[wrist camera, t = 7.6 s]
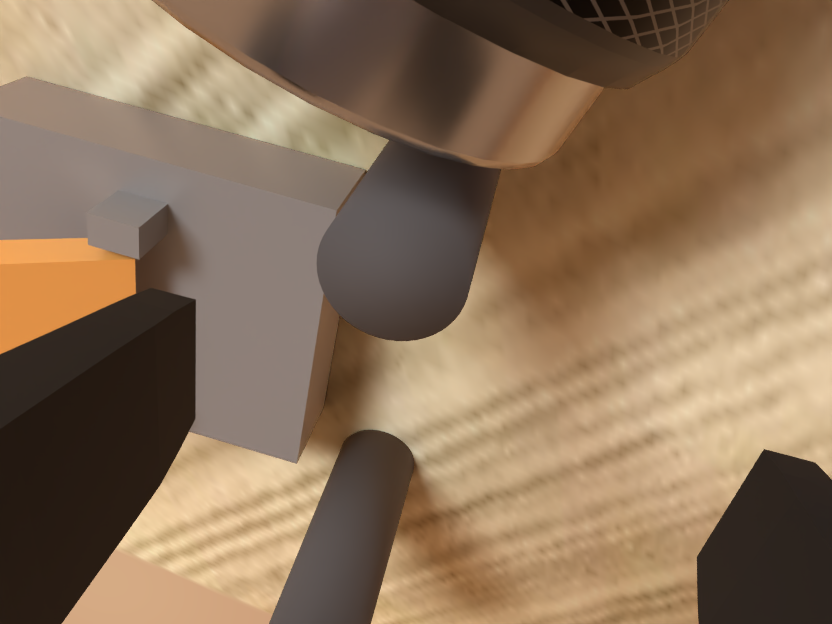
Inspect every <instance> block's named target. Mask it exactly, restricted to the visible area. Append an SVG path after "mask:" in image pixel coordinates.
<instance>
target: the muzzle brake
mask: <svg viewBox="0 0 832 624" xmlns="http://www.w3.org/2000/svg"><path fill="white" fill-rule="evenodd" d="M152 1H154V2H155V3H156V4H157V5H159V6H160V7H161V8H162V9H164V10H165V11H166V12H167V13H168V14H170V15H171V16H172V17H173V18H175V19H176V20H177V21H178V22H180V23H181V24H182V25H183V26H185V27H186V28H188V29H189V30H191V31H192V32H194V33H195V34H197V35H198V36H200V37H201V38H203V39H204V40H206V41H207V42H209V43H210V44H212V45H213V46H215V47H216V48H218V49H219V50H221V51H222V52H224V53H225V54H227V55H228V56H230V57H231V58H233V59H234V60H236V61H237V62H238V63H240V64H241V65H243V66H244V67H246V68H248V69H250V70H251V71H253V72H255V73H257V74H258V75H260V76H262V77H264V78H265V79H267V80H269V81H271V82H272V83H274V84H276V85H278V86H279V87H281V88H283V89H285V90H287V91H288V92H290V93H292V94H294V95H295V96H297V97H299V98H301V99H302V100H304V101H306V102H308V103H309V104H312V105H314V106H316V107H318V108H320V109H322V110H324V111H326V112H329V113H331V114H333V115H335V116H337V117H339V118H341V119H343V120H345V121H348V122H350V123H352V124H354V125H356V126H358V127H360V128H362V129H365V130H367V131H369V132H371V133H373V134H376V135H379V136H381V137H384V138H387V139H389V140H392V141H395V142H397V143H400V144H403V145H405V146H408V147H411V148H413V149H416V150H419V151H421V152H424V153H427V154H430V155H434V156H438V157H442V158H445V159H449V160H453V161H457V162H461V163H465V164H469V165H473V166H479V167H488V168H497V169H507V170H513V169H521V168H529V167H535V166H536V165H538V164H540V163H541V162H543V161H545V160H546V159H548V158H549V157H551V156H552V155H554V154H555V153H557V151H558V150H559V149H560V147H561V146H562V145H563V143H564V142H565V141H566V139H567V138H568V137H569V135H570V134H571V132H572V131H573V130H574V128H575V127H576V126H577V124H578V123H579V122H580V120H581V119H582V118H583V116H584V115H585V114H586V112H587V111H588V109H589V108H590V107H591V105H592V104H593V103H594V101H595V100H596V99H597V97H598V96H599V95H600V93H601V92H602V90H603V89H604V88H617V89H629V88H630V87H632V86H634V85H636V84H638V83H640V82H641V81H643V80H645V79H647V78H649V77H651V76H652V75H654V74H656V73H658V72H660V71H662V70H663V69H665V68H667V67H669V66H670V65H672V64H674V63H675V62H676V61H678V60H679V59H680V58H682V57H683V56H684V55H686V54H687V53H688V51H689V50H690V49H691V48H692V46H693V45H694V44H695V43H696V41H697V40H698V39H699V37H700V36H701V35H702V34H703V32H704V31H705V30H706V29H707V27H708V26H709V25H710V23H711V22H712V21H713V20H714V18H715V17H716V16H717V15H718V13H719V12H720V11H721V9H722V8H723V7H724V6H725V4H726V3H727V2H728V1H729V0H152Z"/></svg>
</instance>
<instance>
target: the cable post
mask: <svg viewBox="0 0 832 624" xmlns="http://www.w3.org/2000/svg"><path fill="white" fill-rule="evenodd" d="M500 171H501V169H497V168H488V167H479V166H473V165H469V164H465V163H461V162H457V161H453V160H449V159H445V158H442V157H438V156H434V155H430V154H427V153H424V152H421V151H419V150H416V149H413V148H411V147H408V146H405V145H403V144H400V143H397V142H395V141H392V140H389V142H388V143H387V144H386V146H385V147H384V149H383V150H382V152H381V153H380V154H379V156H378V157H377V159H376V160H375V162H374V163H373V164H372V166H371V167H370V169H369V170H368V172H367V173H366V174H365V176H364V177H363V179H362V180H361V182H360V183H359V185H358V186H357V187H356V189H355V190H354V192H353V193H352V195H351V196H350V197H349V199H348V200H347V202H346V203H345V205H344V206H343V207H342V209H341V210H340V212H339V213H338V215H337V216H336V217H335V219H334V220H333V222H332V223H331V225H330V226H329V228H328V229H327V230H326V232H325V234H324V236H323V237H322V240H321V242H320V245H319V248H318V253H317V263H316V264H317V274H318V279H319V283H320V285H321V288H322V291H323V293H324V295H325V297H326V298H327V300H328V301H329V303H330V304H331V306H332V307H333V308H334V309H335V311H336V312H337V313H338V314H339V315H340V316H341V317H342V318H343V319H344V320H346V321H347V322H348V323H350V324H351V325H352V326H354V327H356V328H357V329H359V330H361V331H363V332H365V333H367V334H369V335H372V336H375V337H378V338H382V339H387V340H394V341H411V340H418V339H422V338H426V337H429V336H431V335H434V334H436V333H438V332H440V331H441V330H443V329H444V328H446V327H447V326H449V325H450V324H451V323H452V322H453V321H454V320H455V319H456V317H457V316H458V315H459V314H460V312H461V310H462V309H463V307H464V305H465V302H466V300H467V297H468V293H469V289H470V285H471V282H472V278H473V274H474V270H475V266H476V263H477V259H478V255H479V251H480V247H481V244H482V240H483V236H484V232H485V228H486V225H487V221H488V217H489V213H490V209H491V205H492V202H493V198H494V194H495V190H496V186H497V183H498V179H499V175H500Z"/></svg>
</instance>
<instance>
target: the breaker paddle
mask: <svg viewBox="0 0 832 624" xmlns="http://www.w3.org/2000/svg"><path fill="white" fill-rule="evenodd" d="M134 294H136V280H135V258H132V257H128V256H125V255H121V254H118V253H114V252H111V251H107V250H104V249H100V248H97V247H93V246H90V245H88V238H62V239H22V240H0V354H2V353H4V352H6V351H9V350H11V349H13V348H15V347H18V346H20V345H22V344H24V343H27V342H29V341H31V340H33V339H36V338H38V337H40V336H42V335H45V334H47V333H49V332H51V331H54V330H56V329H58V328H60V327H62V326H65V325H67V324H69V323H71V322H73V321H76V320H78V319H80V318H82V317H84V316H86V315H89V314H91V313H93V312H95V311H97V310H100V309H102V308H104V307H106V306H108V305H111V304H113V303H115V302H117V301H120V300H122V299H124V298H127V297H129V296H131V295H134Z"/></svg>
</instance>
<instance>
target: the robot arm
mask: <svg viewBox="0 0 832 624" xmlns="http://www.w3.org/2000/svg"><path fill="white" fill-rule="evenodd" d="M195 419H196V299H192V298H188V297H185V296H181V295H177V294H173V293H169V292H166V291H162V290H158V289H154V288H149V289H146V290H144V291H141V292H139V293H136V294H134V295H131V296H129V297H127V298H124V299H122V300H120V301H117V302H115V303H113V304H111V305H108V306H106V307H104V308H102V309H100V310H97V311H95V312H93V313H91V314H89V315H86V316H84V317H82V318H80V319H78V320H76V321H73V322H71V323H69V324H67V325H65V326H62V327H60V328H58V329H56V330H54V331H51V332H49V333H47V334H45V335H42V336H40V337H38V338H36V339H33V340H31V341H29V342H27V343H24V344H22V345H20V346H18V347H15V348H13V349H11V350H9V351H6V352H4V353H2V354H0V624H61V623H62V622H63V621H64V620H65V618H66V617H67V615H68V614H69V612H70V611H71V610H72V608H73V607H74V606H75V604H76V603H77V601H78V600H79V599H80V597H81V596H82V594H83V593H84V592H85V590H86V589H87V587H88V586H89V585H90V583H91V582H92V580H93V579H94V578H95V576H96V575H97V573H98V572H99V571H100V569H101V568H102V566H103V565H104V564H105V562H106V561H107V559H108V558H109V556H110V555H111V554H112V553H113V551H114V550H115V548H116V547H117V546H118V544H119V543H120V541H121V540H122V539H123V537H124V536H125V534H126V533H127V532H128V530H129V529H130V527H131V526H132V524H133V523H134V522H135V520H136V519H137V517H138V516H139V515H140V513H141V512H142V510H143V509H144V507H145V506H146V505H147V503H148V502H149V500H150V499H151V497H152V496H153V495H154V493H155V492H156V490H157V489H158V487H159V486H160V484H161V483H162V481H163V479H164V477H165V475H166V474H167V472H168V470H169V468H170V466H171V464H172V463H173V461H174V459H175V457H176V455H177V454H178V452H179V450H180V448H181V446H182V444H183V442H184V440H185V438H186V436H187V434H188V432H189V430H190V428H191V427H192V425H193V423H194V421H195ZM697 589H698V618H699V624H832V480H831V479H830V477H829V476H828V475H827V474H826V473H825V472H824V471H823V470H822V469H821V468H820V467H819V466H818V465H817V464H816V463H814V462H811V461H807V460H803V459H799V458H796V457H792V456H788V455H784V454H780V453H777V452H773V451H769V450H765V449H764V450H763V452H762V453H761V455H760V456H759V458H758V460H757V461H756V463H755V465H754V466H753V468H752V469H751V471H750V473H749V474H748V476H747V477H746V479H745V481H744V482H743V484H742V485H741V487H740V489H739V490H738V492H737V493H736V495H735V497H734V498H733V500H732V501H731V503H730V505H729V506H728V508H727V510H726V511H725V513H724V514H723V516H722V518H721V519H720V521H719V522H718V524H717V526H716V527H715V529H714V530H713V532H712V534H711V535H710V537H709V538H708V540H707V542H706V543H705V545H704V546H703V548H702V550H701V551H700V553H699V554H698V556H697Z"/></svg>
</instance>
